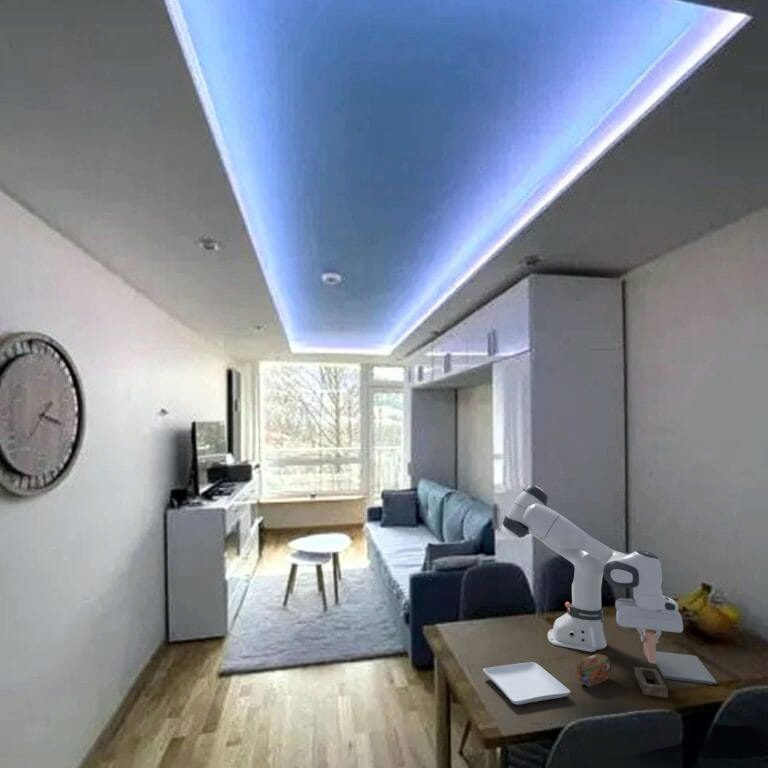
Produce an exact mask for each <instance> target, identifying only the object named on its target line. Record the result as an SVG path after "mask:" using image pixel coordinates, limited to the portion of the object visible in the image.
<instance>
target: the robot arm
mask: <svg viewBox="0 0 768 768" xmlns="http://www.w3.org/2000/svg"><path fill="white" fill-rule="evenodd" d="M548 501H549V498H548V495H547V494H546V492H545V491H544V490H543V488H541V487H539V486H537V485H533V484H528V485H526V486H525V487H524V488H523V489H522V492H520V494H519V495H518V496H517V497H516V498H515V499H514V501H513V504H512V505H511V506H510V508H509V510H508V512H507V515H506V516H504V519H503V521H502V525H503V527H504V528H505V531H506V532H507V533H509V534H510V535H511V536H513V537H516V538H519V539H521V538H524V537H526V536H527V535H530V534H531V535H532V536H533V537H535V538H536V539H538V541H540V542H541V543H542V544H544V545H545V546H546V547H547V548H549V549H551V550H552V551H553V552H555V553H557V554H558V555H560V556H561V557H563V558H564V559H566V560H567V561H568V562H570V563H571V564H572V565H573V567H574V574H573V575H574V576H573V581H572V584H571V603H570V602H569V601H566V602H565V603H564V606H565V608H566V613H564V614H563V615H561V616H559V617H557V618H556V619H555V621H554V623H553V628H552V629H549V630H548V632H547V641H549V643H551V644H552V645H553V646H554V645H555V646H558V647H564V648H569V649H575V650H580V651H584V652H590V653H592V652H593V653H594V652H595V651H598V650H602V649H605V648H606V647H607V646H608V643H607V640H606V637H605V633H604V627H603V622H604V611H603V608H602V584H603V577H604V579H605V580H606V582H608V584H609V585H611V586H613V587H615V588H622V589H623V588H624V589H626V588H627V589H630V588H633V590H632V591H633V598H625V597H620V598H618V599H616V600H615V605H614V607H615V609H616V614H615V620H616V623H617V625H618V626H620V627H621V628H631V629H636V630H637V632H638V633H639V635H640V641H641V642H642V643H643V642H647V641H646V640H647V637H646V636H645V635H643V629H649V630H652V631H655V633H654V634H655V640H656V644H658V643H659V638H660V637H661V635H662V632H670V633H679V634H680V633H682V632H683V630H684V624H683V618H682V614H681V613H680V611H679V608H680V606H679V605H678V603H677V602H676V601H675V600H674V599H673V598H670V597H668V596H665V595H664V594H663V590H662V582H663V572H662V564H661V561H660V558H659V557H658V556H657V555H656V554H654V553H652V552H650V551H647V550H643V549H637V550H634V551H633V552H630V553H629V552H627V551H624V550H619V549H615V548H612V547H611V546H609V545H607V544H605V543H604V542H602V541H601V540H599V539H597V538H595V537H594V536H593V535H590V534H589V533H587V532H586V531H584V530H582V529H581V528H580V527H578V526H577V525H575V523H573V522H572V521H570V520H569V519H568V518H566V517H565V516H564V515H562V514H560V512H557V511H556V510H554V509H552V508H550V507H548V506H547V505H548Z"/></svg>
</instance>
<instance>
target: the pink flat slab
mask: <svg viewBox="0 0 768 768" xmlns="http://www.w3.org/2000/svg"><path fill="white" fill-rule="evenodd" d="M655 634H656V633H654V630H649V629H643V632H642V635H645V636H646V637H647V640H646V641H647V642H642V644H643V645H642V646H643V653H644V656H645V658H646V660H647V662H649V664H654V665H656V651H657V649H656V647H657V646H656V640H655Z"/></svg>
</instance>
